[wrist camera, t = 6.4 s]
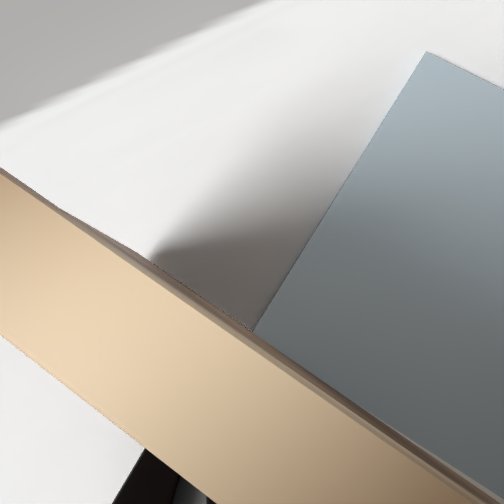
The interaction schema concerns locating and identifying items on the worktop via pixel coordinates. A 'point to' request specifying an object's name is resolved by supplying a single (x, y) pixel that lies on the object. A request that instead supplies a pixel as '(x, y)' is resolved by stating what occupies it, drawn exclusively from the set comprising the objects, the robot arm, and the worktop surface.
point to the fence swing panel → (194, 375)
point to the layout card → (414, 276)
